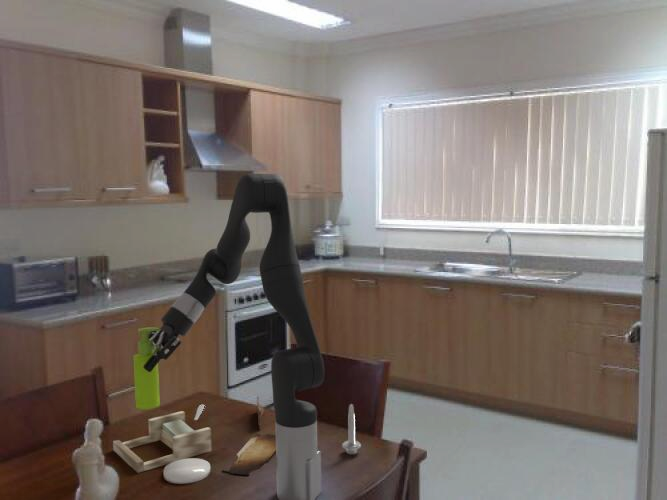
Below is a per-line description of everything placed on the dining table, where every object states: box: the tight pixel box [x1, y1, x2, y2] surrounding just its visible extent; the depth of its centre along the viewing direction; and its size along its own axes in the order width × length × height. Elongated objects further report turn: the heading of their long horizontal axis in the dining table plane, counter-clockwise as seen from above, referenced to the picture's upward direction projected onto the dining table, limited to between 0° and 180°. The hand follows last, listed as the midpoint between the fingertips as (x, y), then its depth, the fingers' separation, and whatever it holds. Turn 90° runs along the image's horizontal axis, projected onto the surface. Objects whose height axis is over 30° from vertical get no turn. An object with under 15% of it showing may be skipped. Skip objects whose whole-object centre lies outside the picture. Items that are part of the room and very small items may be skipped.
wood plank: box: [256, 396, 265, 429], centre depth 182 cm, size 15×2×5 cm, turn 8°
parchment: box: [222, 433, 276, 477], centre depth 159 cm, size 25×10×1 cm, turn 167°
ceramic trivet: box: [163, 457, 211, 485], centre depth 149 cm, size 11×11×1 cm
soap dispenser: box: [132, 326, 161, 410], centre depth 156 cm, size 6×7×20 cm
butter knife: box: [193, 403, 206, 421], centre depth 183 cm, size 1×27×3 cm
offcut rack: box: [112, 410, 212, 474], centre depth 161 cm, size 20×17×6 cm
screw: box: [341, 403, 362, 455], centre depth 159 cm, size 13×5×5 cm
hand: (141, 367), depth 155 cm, fingers closed on soap dispenser, 6 cm apart
